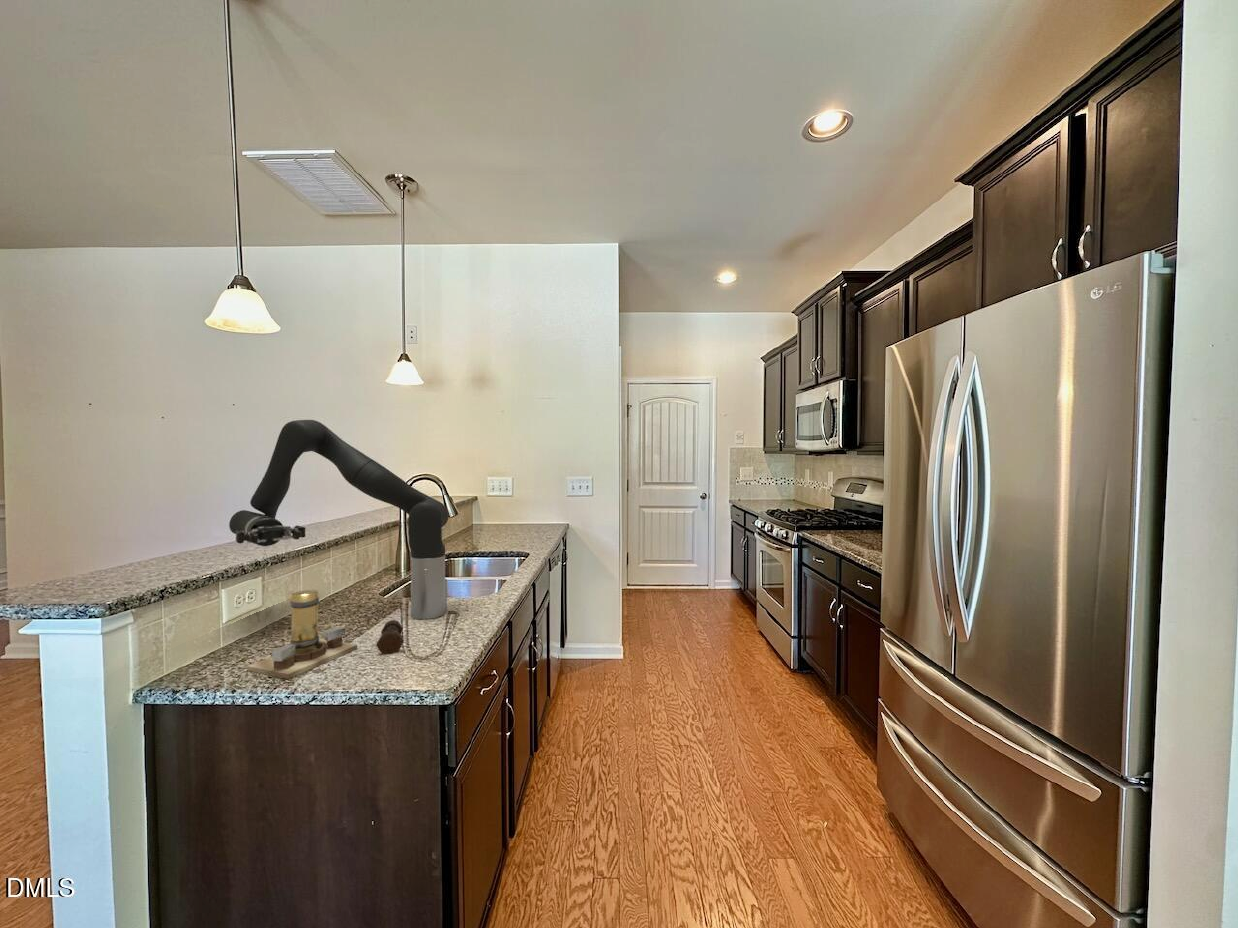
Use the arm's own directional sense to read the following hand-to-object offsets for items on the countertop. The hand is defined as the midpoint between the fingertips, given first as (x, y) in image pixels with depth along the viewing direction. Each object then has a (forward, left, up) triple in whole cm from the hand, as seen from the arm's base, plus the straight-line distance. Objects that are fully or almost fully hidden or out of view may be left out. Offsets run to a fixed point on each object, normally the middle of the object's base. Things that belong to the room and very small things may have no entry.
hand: (277, 537), depth 119 cm
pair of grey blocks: (+5, +18, -23) cm, 30 cm away
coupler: (+5, +16, -25) cm, 30 cm away
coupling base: (+5, +16, -26) cm, 31 cm away
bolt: (-9, +27, -26) cm, 39 cm away
